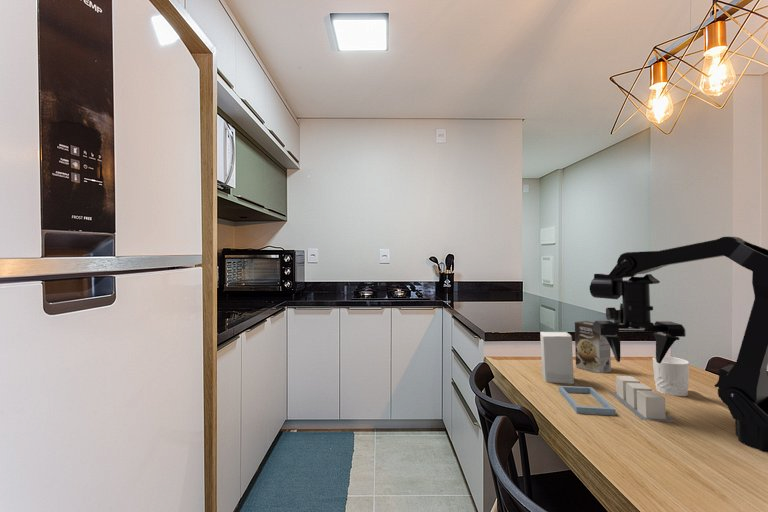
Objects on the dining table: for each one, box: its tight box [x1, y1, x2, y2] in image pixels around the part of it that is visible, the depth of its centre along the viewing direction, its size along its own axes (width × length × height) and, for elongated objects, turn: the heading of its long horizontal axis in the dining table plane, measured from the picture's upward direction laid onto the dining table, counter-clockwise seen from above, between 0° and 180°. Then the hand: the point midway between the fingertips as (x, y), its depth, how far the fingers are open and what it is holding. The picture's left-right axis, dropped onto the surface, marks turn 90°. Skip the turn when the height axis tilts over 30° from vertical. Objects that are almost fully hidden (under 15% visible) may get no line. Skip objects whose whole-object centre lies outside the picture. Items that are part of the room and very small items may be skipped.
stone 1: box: [615, 375, 641, 400], centre depth 94 cm, size 4×4×5 cm
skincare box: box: [539, 331, 575, 385], centre depth 108 cm, size 8×7×16 cm
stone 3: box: [637, 390, 667, 419], centre depth 83 cm, size 4×4×5 cm
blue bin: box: [558, 385, 616, 416], centre depth 91 cm, size 15×9×3 cm, turn 169°
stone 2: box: [626, 382, 653, 408], centre depth 88 cm, size 4×4×5 cm
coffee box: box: [574, 320, 612, 374], centre depth 121 cm, size 9×6×16 cm
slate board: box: [608, 391, 676, 423], centre depth 88 cm, size 17×7×1 cm, turn 169°
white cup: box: [652, 355, 690, 397], centre depth 97 cm, size 8×8×10 cm
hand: (638, 362), depth 88 cm, fingers open, 9 cm apart
